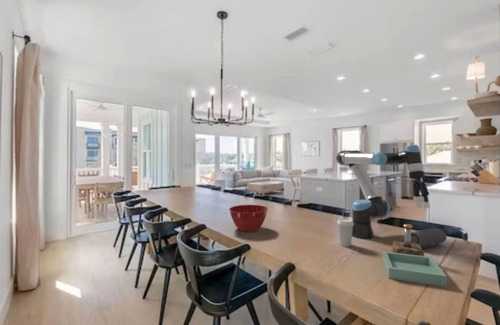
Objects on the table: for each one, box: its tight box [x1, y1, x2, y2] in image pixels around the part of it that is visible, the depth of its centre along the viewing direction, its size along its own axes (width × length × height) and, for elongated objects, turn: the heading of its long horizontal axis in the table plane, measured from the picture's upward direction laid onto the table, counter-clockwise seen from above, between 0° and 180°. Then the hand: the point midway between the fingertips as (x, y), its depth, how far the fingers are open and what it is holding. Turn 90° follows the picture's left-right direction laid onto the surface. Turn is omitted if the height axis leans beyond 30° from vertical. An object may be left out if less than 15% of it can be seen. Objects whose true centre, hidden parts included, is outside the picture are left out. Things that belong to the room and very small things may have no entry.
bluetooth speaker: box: [411, 227, 447, 249], centre depth 150 cm, size 23×9×10 cm, turn 111°
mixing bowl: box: [228, 204, 268, 233], centre depth 186 cm, size 28×28×15 cm
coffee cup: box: [337, 218, 354, 248], centre depth 153 cm, size 10×10×15 cm
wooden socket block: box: [392, 240, 425, 256], centre depth 134 cm, size 12×12×6 cm
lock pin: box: [403, 223, 413, 248], centre depth 134 cm, size 4×4×15 cm
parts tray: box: [382, 250, 448, 288], centre depth 117 cm, size 21×21×4 cm
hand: (423, 207), depth 145 cm, fingers open, 13 cm apart
